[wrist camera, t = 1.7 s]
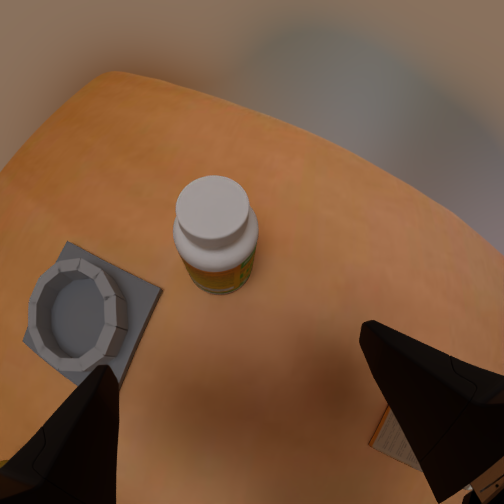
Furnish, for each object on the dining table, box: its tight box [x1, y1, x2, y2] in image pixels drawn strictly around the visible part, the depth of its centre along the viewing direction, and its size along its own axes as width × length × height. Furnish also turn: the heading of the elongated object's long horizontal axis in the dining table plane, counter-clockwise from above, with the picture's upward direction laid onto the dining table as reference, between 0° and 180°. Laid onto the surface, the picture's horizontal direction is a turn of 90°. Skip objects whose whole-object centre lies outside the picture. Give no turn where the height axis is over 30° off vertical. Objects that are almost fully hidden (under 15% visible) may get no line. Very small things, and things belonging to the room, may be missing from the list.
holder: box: [23, 241, 163, 390], centre depth 20 cm, size 11×11×3 cm
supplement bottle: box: [173, 176, 258, 294], centre depth 19 cm, size 5×5×10 cm
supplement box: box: [369, 406, 473, 490], centre depth 13 cm, size 8×5×13 cm, turn 61°
